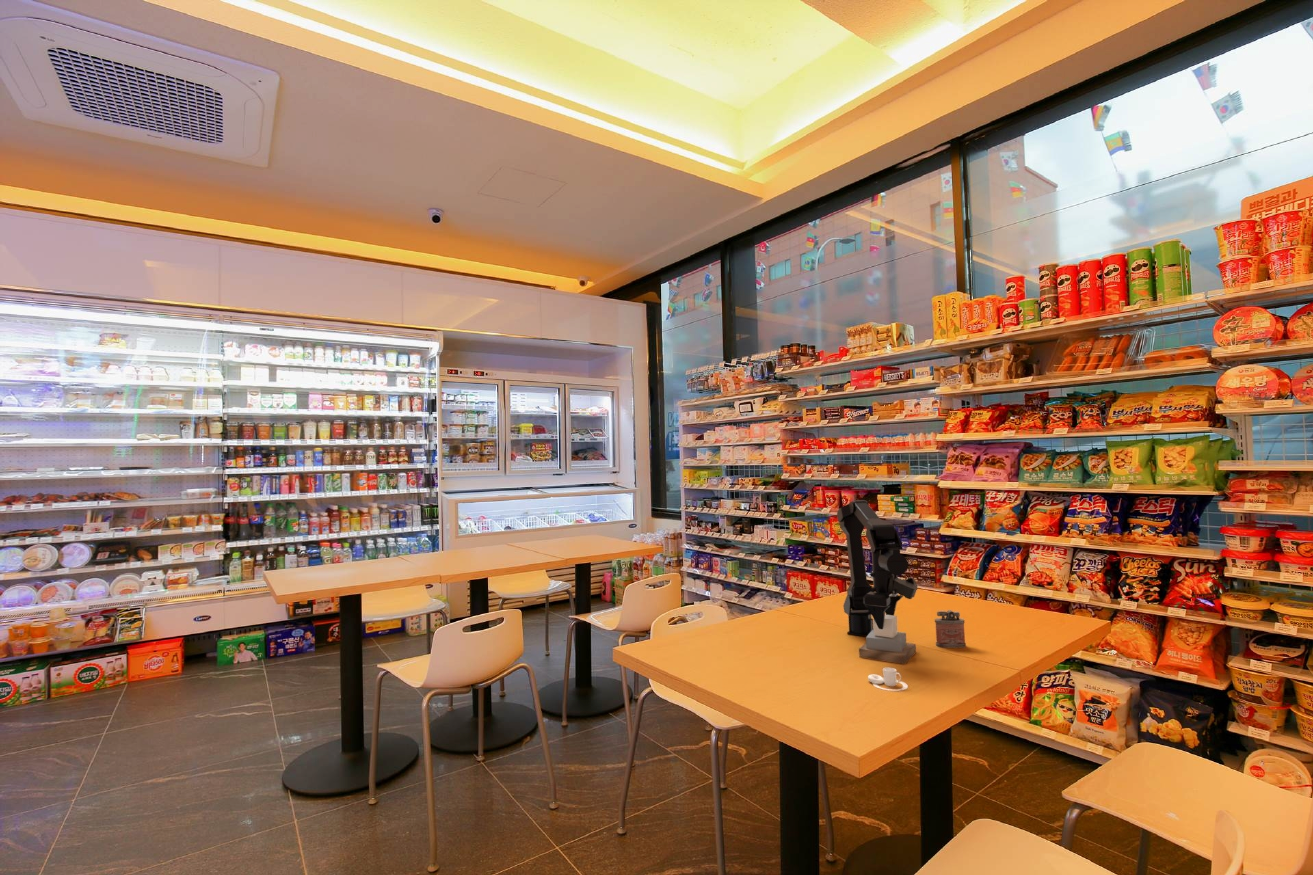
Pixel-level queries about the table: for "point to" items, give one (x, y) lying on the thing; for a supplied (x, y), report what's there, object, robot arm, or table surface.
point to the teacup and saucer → (887, 679)
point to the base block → (889, 654)
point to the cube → (887, 627)
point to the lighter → (950, 630)
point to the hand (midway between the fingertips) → (885, 625)
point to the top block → (886, 642)
